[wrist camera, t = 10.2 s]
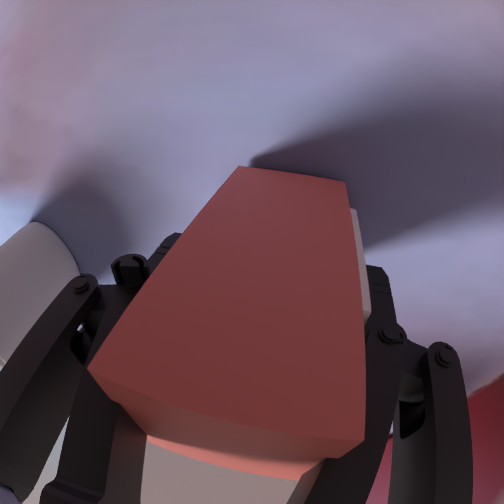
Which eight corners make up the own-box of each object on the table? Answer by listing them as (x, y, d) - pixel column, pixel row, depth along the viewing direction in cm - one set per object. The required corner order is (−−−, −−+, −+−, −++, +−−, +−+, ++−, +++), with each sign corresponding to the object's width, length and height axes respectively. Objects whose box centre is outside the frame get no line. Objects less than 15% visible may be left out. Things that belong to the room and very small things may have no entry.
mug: (28, 202, 19) (-60, 277, 10) (90, 264, 21) (8, 363, 12) (23, 271, 25) (-33, 332, 16) (71, 318, 27) (20, 388, 18)
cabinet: (154, 358, 26) (76, 518, 11) (344, 400, 24) (312, 587, 8) (170, 399, 32) (117, 523, 17) (318, 432, 29) (290, 569, 14)
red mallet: (238, 165, 13) (86, 368, 4) (345, 182, 12) (364, 440, 4) (234, 388, 26) (201, 488, 17) (284, 398, 25) (260, 501, 16)
